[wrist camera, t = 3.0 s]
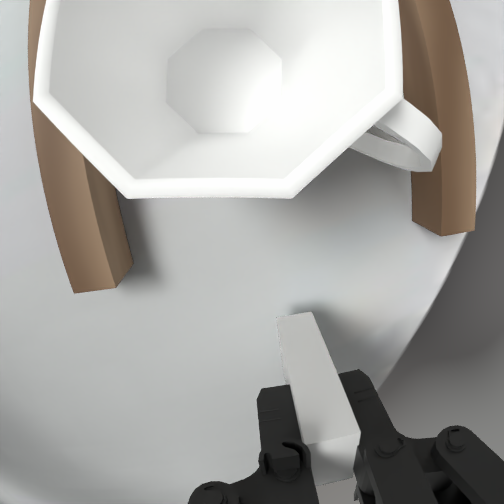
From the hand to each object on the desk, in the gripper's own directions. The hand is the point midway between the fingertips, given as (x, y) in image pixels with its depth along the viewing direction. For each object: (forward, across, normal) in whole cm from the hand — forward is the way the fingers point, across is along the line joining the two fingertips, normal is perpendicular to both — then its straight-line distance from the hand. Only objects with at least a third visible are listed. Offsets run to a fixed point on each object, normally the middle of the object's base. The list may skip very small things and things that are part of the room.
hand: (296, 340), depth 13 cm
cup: (+2, 0, +10) cm, 10 cm away
